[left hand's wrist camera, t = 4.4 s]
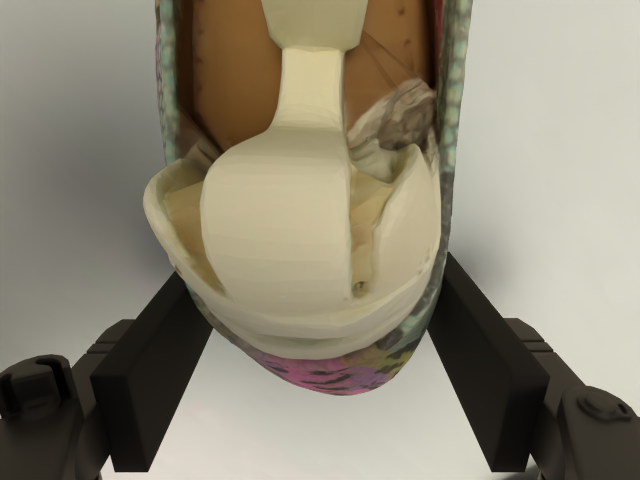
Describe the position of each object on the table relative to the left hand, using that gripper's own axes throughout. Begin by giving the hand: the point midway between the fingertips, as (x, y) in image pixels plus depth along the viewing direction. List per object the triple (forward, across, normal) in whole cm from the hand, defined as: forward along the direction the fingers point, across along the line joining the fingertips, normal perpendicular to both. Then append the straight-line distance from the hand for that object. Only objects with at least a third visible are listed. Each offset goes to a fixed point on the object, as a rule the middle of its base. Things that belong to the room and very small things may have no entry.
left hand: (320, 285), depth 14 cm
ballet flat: (+1, 0, -8) cm, 8 cm away
